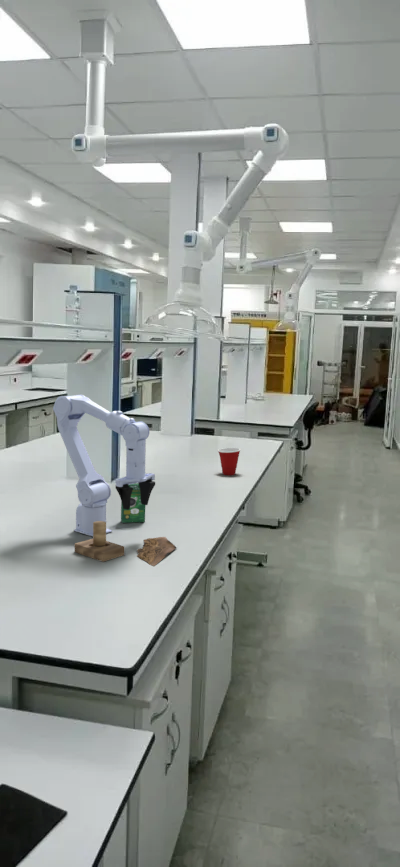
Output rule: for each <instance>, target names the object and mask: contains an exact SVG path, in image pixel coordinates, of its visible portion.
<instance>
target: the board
mask: <svg viewBox="0 0 400 867" xmlns="http://www.w3.org/2000/svg"><path fill="white" fill-rule="evenodd" d="M74 553H77V554H79V555H81V556H85V557H88V558H90V559H93V560H97V561H100V562H103V563H104V562H106V561H110V560H113V559H116V558H119V557H122V556H125V545H120V544H118V543H115V542H112V541H108V540H106V544H105V547H103V548H99V549H98V548H95V547H94V545H93V538H90V539H85V540H83V541H79V542H75V543H74Z"/></svg>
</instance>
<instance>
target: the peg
mask: <svg viewBox="0 0 400 867" xmlns="http://www.w3.org/2000/svg"><path fill="white" fill-rule="evenodd" d="M106 529H107V521H106V522H104V521H96V522H93V536H92V537H93V538H92V539H93V545H94V547H95V548H98V549H99V548H103V547H105V544H106V541H107V533H106Z"/></svg>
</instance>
